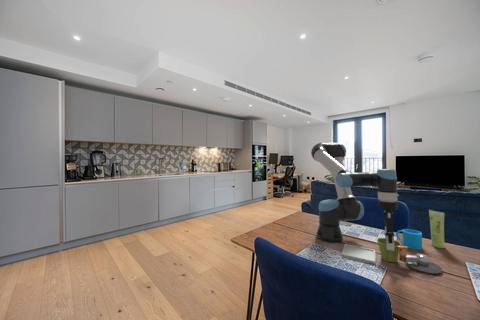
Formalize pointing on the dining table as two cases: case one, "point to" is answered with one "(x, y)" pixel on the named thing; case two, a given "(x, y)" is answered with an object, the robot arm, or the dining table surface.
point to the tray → (359, 253)
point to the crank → (413, 257)
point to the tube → (437, 228)
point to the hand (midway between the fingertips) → (389, 244)
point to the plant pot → (388, 254)
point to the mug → (411, 238)
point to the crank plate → (425, 268)
